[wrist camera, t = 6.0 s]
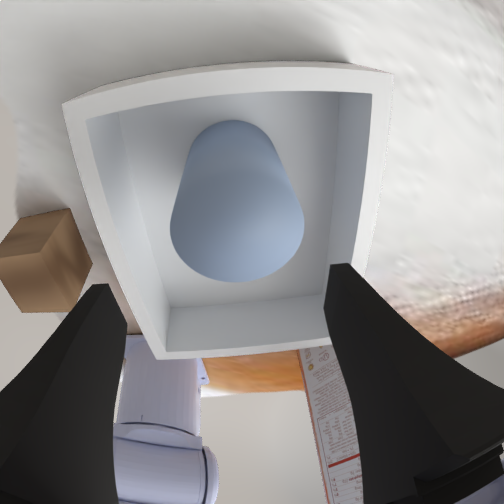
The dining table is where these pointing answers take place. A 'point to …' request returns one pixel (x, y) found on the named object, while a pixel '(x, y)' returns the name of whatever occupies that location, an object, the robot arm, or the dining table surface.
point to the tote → (170, 173)
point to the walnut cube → (44, 262)
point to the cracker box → (332, 425)
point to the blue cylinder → (235, 206)
